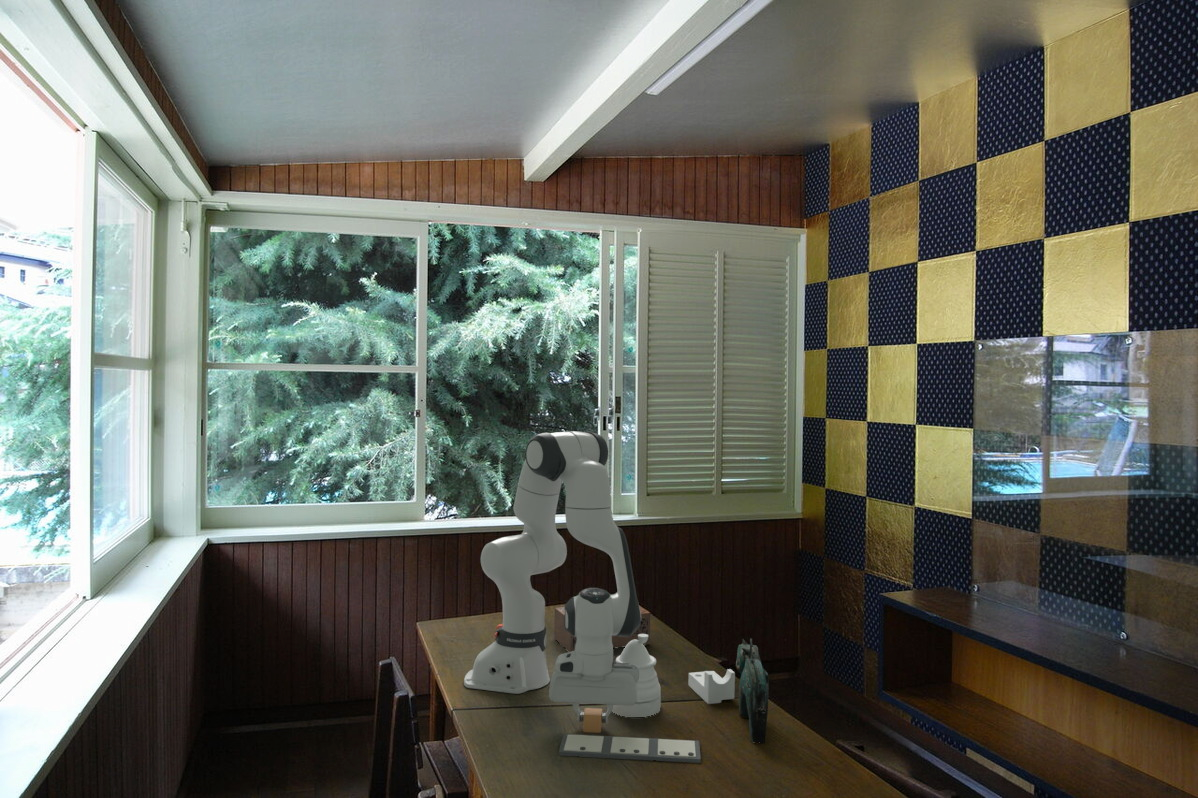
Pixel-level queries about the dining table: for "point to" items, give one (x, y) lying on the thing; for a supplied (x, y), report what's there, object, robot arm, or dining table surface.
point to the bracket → (713, 685)
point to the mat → (630, 748)
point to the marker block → (592, 720)
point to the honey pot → (641, 680)
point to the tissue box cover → (617, 641)
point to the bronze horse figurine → (753, 690)
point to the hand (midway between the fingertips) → (592, 721)
